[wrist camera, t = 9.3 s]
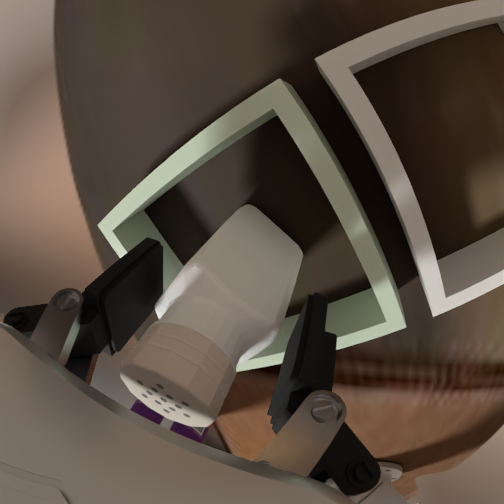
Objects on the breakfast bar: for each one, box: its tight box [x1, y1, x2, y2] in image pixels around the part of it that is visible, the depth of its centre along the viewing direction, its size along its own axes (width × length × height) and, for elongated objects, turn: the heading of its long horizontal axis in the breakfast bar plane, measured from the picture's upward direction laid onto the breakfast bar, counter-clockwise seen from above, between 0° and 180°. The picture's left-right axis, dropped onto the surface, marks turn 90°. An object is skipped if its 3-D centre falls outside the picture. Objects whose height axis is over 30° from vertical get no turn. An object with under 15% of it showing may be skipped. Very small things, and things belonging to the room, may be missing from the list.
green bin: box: [98, 78, 406, 372], centre depth 14 cm, size 12×12×3 cm
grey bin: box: [315, 0, 504, 317], centre depth 7 cm, size 12×12×3 cm
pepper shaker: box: [120, 204, 303, 427], centre depth 11 cm, size 4×4×10 cm
